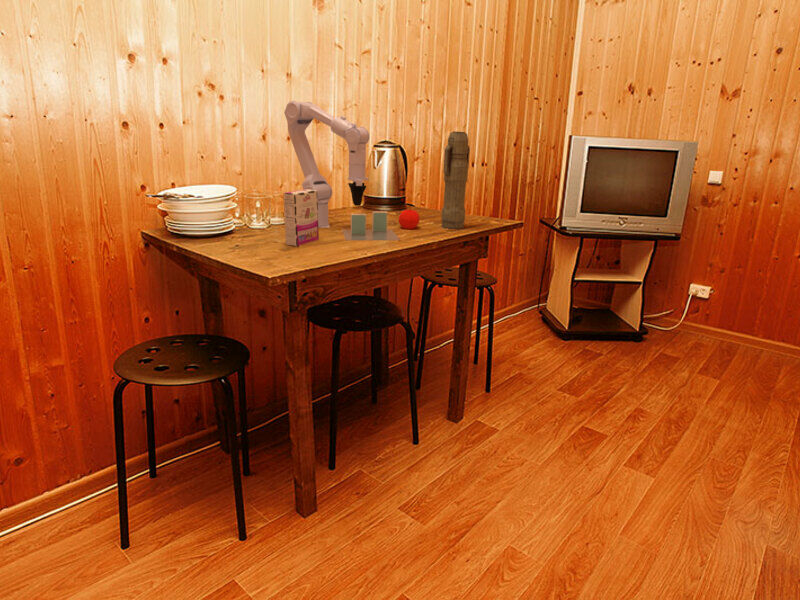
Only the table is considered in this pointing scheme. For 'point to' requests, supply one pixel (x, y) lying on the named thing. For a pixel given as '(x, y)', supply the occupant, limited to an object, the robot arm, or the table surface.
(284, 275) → the table surface
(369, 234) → the slate board
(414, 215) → the apple
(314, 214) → the candy bar box
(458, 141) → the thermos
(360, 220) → the tile
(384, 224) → the tile
